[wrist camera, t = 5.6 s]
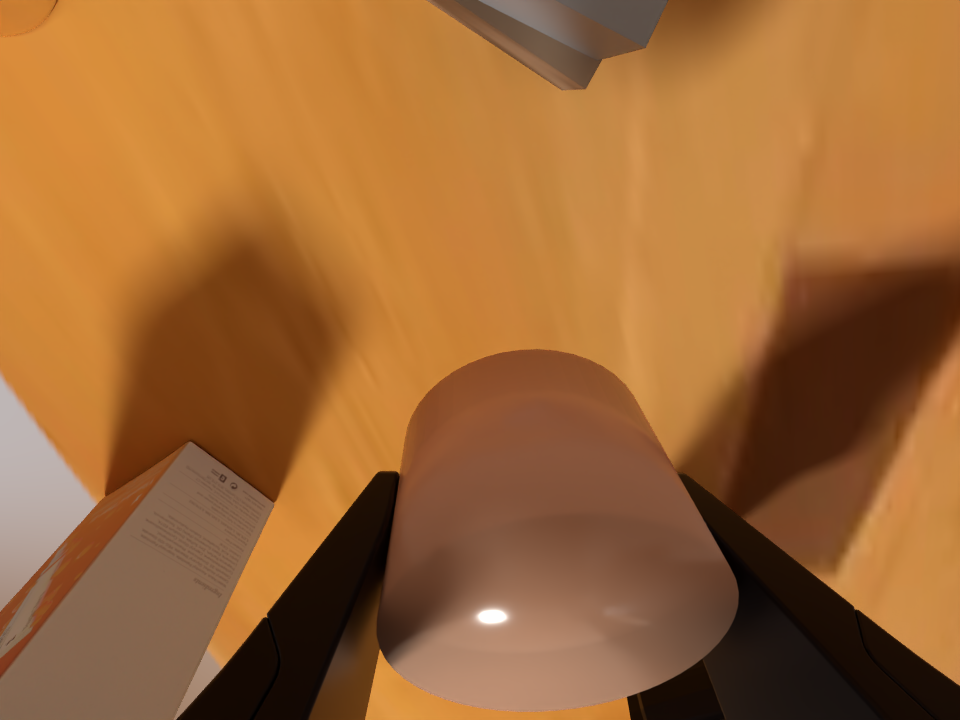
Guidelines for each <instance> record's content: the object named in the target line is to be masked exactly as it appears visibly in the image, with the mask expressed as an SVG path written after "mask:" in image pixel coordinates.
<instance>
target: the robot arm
mask: <svg viewBox="0 0 960 720" xmlns="http://www.w3.org/2000/svg"><path fill="white" fill-rule="evenodd" d="M677 474H678V475H679V477H680V479H681V481H682V483H683V484H684V486H685V488H686V490H687V491H688V493H689V495H690V497H691V499H692V500H693V502H694V504H695V506H696V507H697V509H698V511H699V513H700V515H701V516H702V518H703V520H704V522H705V523H706V525H707V527H708V529H709V531H710V532H711V534H712V536H713V538H714V539H715V541H716V543H717V545H718V547H719V548H720V550H721V552H722V554H723V555H724V557H725V559H726V561H727V563H728V564H729V566H730V568H731V570H732V572H733V574H734V576H735V578H736V582H737V586H738V591H739V597H738V608H737V611H736V615H735V618H734V620H733V622H732V624H731V626H730V628H729V630H728V631H727V633H726V634H725V635H724V637H723V638H722V639H721V641H720V642H719V643H718V644H717V645H716V646H715V647H714V648H713V649H712V650H711V651H710V652H709V653H708V654H707V655H706V656H705V657H703V658H702V659H701V660H700V661H698V662H697V663H696V664H694V665H693V666H691V667H690V668H688V669H687V670H685V671H684V672H682V673H681V674H679V675H677V676H675V677H673V678H671V679H669V680H668V681H666V682H664V683H661V684H659V685H657V686H654V687H652V688H650V689H648V690H645V691H642V692H639V693H637V694H634V695H631V696H628V697H627V700H628V705H629V711H630V717H631V720H960V686H959V685H958V684H956V683H955V682H954V681H952V680H951V679H949V678H948V677H947V676H945V675H944V674H942V673H941V672H940V671H938V670H937V669H936V668H934V667H933V666H931V665H930V664H929V663H927V662H926V661H925V660H923V659H922V658H920V657H919V656H918V655H916V654H915V653H914V652H912V651H911V650H910V649H908V648H907V647H906V646H904V645H903V644H902V643H901V642H899V641H898V640H897V639H895V638H894V637H893V636H891V635H890V634H889V633H887V632H886V631H885V630H884V629H882V628H881V627H880V626H878V625H877V624H876V623H875V622H873V621H872V620H871V619H869V618H868V617H867V616H866V615H864V614H863V613H862V612H861V611H859V610H855V609H854V606H853V605H851V604H850V603H849V602H848V601H846V600H845V599H844V598H843V597H841V596H840V595H839V594H838V593H836V592H835V591H834V590H832V589H831V588H830V587H829V586H827V585H826V584H825V583H824V582H822V581H821V580H820V579H818V578H817V577H816V576H815V575H813V574H812V573H811V572H810V571H808V570H807V569H806V568H804V567H803V566H802V565H801V564H799V563H798V562H797V561H796V560H794V559H793V558H792V557H790V556H789V555H788V554H787V553H785V552H784V551H783V550H782V549H780V548H779V547H778V546H777V545H775V544H774V543H773V542H771V541H770V540H769V539H768V538H766V537H765V536H764V535H763V534H761V533H760V532H759V531H757V530H756V529H755V528H754V527H752V526H751V525H750V524H749V523H747V522H746V521H745V520H743V519H742V518H741V517H740V516H738V515H737V514H736V513H735V512H733V511H732V510H731V509H729V508H728V507H727V506H726V505H724V504H723V503H722V502H721V501H719V500H718V499H717V498H716V497H714V496H713V495H712V494H710V493H709V492H708V491H707V490H705V489H704V488H703V487H702V486H700V485H699V484H698V483H696V482H695V481H694V480H693V479H691V478H690V477H689V476H687V475H686V474H684V473H677ZM398 481H399V474H398V472H396V471H380V472H378V473H377V474H376V475H375V476H374V477H373V479H372V480H371V481H370V483H369V484H368V485H367V486H366V488H365V489H364V490H363V492H362V493H361V494H360V495H359V497H358V498H357V499H356V500H355V502H354V503H353V504H352V506H351V507H350V508H349V509H348V511H347V512H346V513H345V515H344V516H343V517H342V518H341V520H340V521H339V522H338V523H337V525H336V526H335V527H334V529H333V530H332V531H331V532H330V534H329V535H328V536H327V538H326V539H325V540H324V541H323V543H322V544H321V545H320V546H319V548H318V549H317V550H316V552H315V553H314V554H313V555H312V557H311V558H310V559H309V560H308V562H307V563H306V564H305V566H304V567H303V568H302V569H301V571H300V572H299V573H298V575H297V576H296V577H295V578H294V580H293V581H292V582H291V583H290V585H289V586H288V587H287V589H286V590H285V591H284V592H283V594H282V595H281V596H280V598H279V599H278V600H277V601H276V603H275V604H274V605H273V606H272V608H271V609H270V610H269V612H268V613H267V617H268V618H267V617H264V618H263V619H262V620H261V621H260V623H259V624H258V625H257V627H256V628H255V629H254V630H253V632H252V633H251V634H250V636H249V637H248V638H247V639H246V641H245V642H244V643H243V644H242V646H241V647H240V648H239V649H238V650H237V652H236V653H235V654H234V655H233V656H232V658H231V659H230V660H229V661H228V663H227V664H226V665H225V666H224V667H223V669H222V670H221V671H220V672H219V673H218V674H217V675H216V677H215V678H214V679H213V680H212V681H211V682H210V683H209V684H208V685H207V687H206V688H205V689H204V690H203V691H202V692H201V693H200V694H199V695H198V696H197V698H196V699H195V700H194V701H193V702H192V703H191V704H190V705H189V706H188V707H187V709H186V710H185V711H184V712H183V713H182V714H181V715H180V716H179V717H178V718H177V719H176V720H365V716H366V712H367V707H368V702H369V697H370V693H371V688H372V683H373V678H374V674H375V669H376V664H377V659H378V655H379V650H380V647H379V643H378V639H377V634H376V622H377V615H378V609H379V603H380V596H381V590H382V583H383V577H384V571H385V564H386V558H387V551H388V545H389V538H390V532H391V526H392V519H393V513H394V506H395V500H396V493H397V487H398Z"/></svg>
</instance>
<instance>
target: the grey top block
mask: <svg viewBox="0 0 960 720" xmlns="http://www.w3.org/2000/svg"><path fill="white" fill-rule="evenodd" d="M479 1H481V2H483V3H485V4H486V5H488V6H490V7H492V8H494V9H496V10H498V11H500V12H502V13H504V14H506V15H508V16H510V17H512V18H514V19H516V20H518V21H520V22H522V23H524V24H526V25H528V26H530V27H532V28H534V29H536V30H538V31H540V32H542V33H544V34H546V35H548V36H549V37H551V38H553V39H555V40H557V41H559V42H561V43H563V44H565V45H567V46H569V47H571V48H573V49H575V50H577V51H579V52H581V53H583V54H585V55H587V56H589V57H591V58H593V59H595V60H597V61H598V60H602V59H605V58H609V57H613V56H617V55H621V54H624V53H628V52H632V51H636V50H640V49H643V48H646V46H647V44H648V42H649V39H650V37H651V35H652V33H653V31H654V29H655V27H656V25H657V23H658V21H659V19H660V16H661V14H662V12H663V10H664V8H665V6H666V4H667V2H668V0H479Z"/></svg>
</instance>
